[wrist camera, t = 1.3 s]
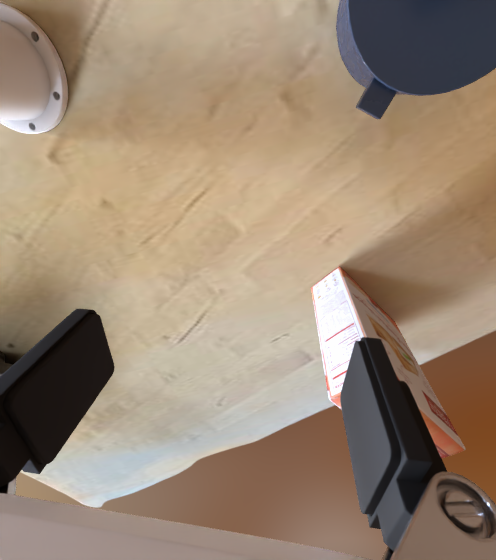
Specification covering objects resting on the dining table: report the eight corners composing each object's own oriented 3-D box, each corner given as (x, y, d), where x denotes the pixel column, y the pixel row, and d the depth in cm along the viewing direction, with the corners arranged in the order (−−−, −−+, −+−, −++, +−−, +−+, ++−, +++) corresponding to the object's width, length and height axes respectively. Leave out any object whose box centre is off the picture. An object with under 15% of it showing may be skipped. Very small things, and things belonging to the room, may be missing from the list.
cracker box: (396, 319, 45) (471, 453, 27) (364, 338, 48) (412, 472, 30) (341, 262, 42) (384, 373, 23) (309, 286, 44) (326, 403, 26)
